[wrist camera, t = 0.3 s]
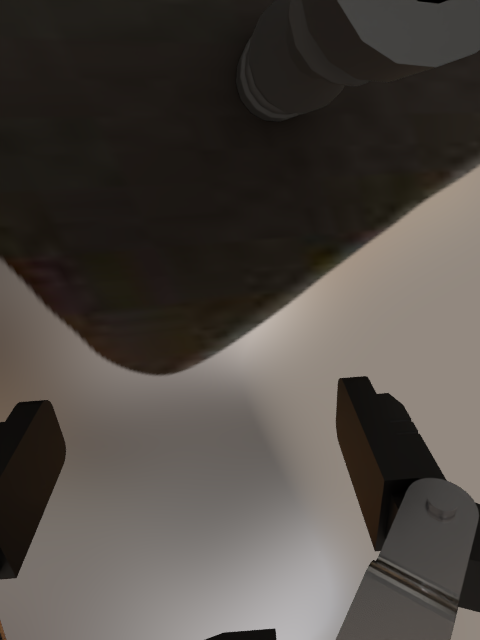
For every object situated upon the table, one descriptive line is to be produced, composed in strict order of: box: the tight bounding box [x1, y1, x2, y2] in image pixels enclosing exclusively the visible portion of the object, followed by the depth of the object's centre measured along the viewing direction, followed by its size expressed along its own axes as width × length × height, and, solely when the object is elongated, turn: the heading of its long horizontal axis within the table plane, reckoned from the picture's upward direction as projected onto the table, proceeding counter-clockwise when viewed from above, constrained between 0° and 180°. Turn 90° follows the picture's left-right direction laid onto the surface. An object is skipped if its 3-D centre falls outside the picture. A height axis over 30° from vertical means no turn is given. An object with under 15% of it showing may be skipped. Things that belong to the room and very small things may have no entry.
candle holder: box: [236, 0, 480, 122], centre depth 22 cm, size 6×6×25 cm
